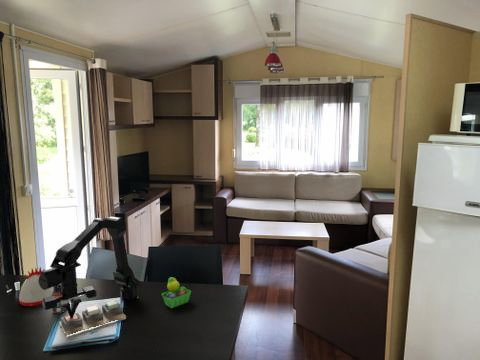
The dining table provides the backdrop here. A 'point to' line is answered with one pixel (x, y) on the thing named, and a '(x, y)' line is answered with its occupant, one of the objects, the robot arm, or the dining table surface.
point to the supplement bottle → (58, 308)
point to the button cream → (92, 310)
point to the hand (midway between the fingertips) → (71, 317)
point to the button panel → (92, 319)
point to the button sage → (111, 304)
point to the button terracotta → (71, 318)
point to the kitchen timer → (33, 290)
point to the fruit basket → (175, 294)
